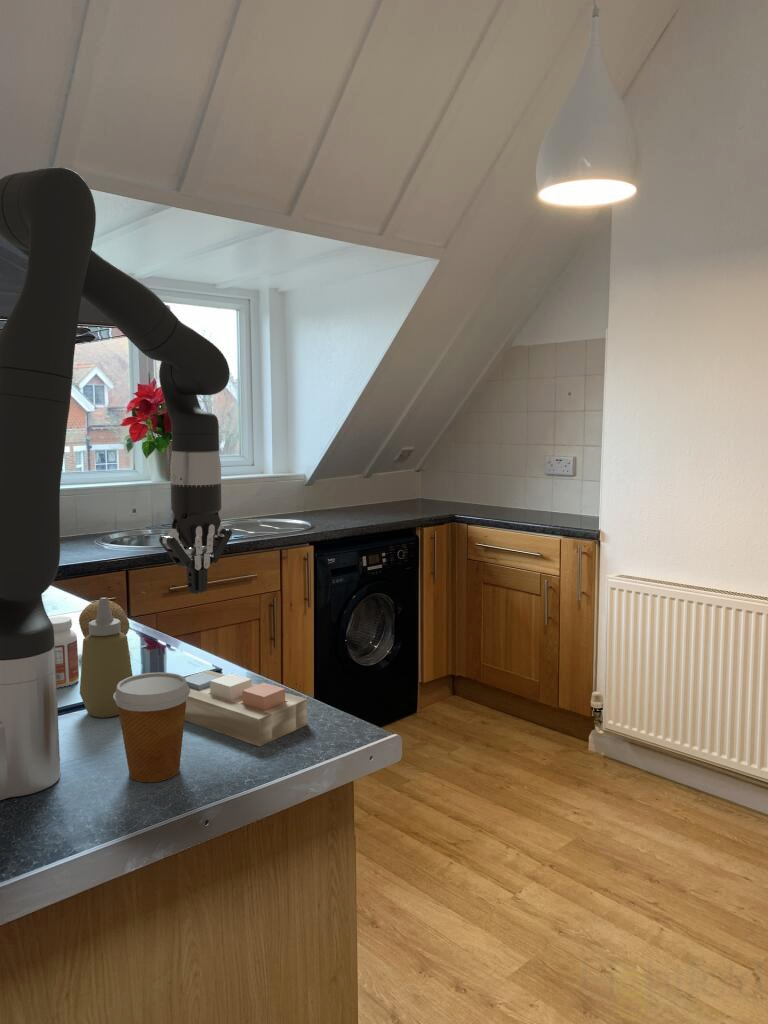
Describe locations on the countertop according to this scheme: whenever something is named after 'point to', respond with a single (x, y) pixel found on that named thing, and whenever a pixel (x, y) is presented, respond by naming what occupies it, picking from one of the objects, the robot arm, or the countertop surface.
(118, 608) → the natural sponge
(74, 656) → the pill bottle
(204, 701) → the key box
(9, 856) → the countertop surface
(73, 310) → the robot arm
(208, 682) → the slate key
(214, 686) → the white key
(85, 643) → the squeeze bottle
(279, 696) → the terracotta key
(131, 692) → the disposable coffee cup
